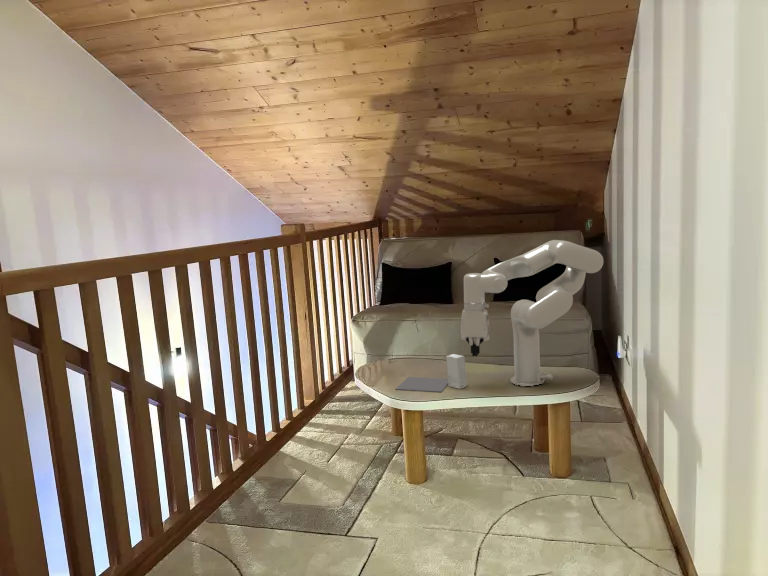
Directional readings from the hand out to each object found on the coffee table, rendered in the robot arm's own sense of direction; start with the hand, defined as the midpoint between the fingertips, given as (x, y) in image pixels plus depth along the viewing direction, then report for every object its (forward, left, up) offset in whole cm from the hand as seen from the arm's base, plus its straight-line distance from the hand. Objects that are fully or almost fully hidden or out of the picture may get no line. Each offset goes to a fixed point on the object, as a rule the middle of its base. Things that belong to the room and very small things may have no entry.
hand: (475, 355), depth 215 cm
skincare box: (+8, 0, -13) cm, 15 cm away
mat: (+21, 0, -13) cm, 24 cm away
